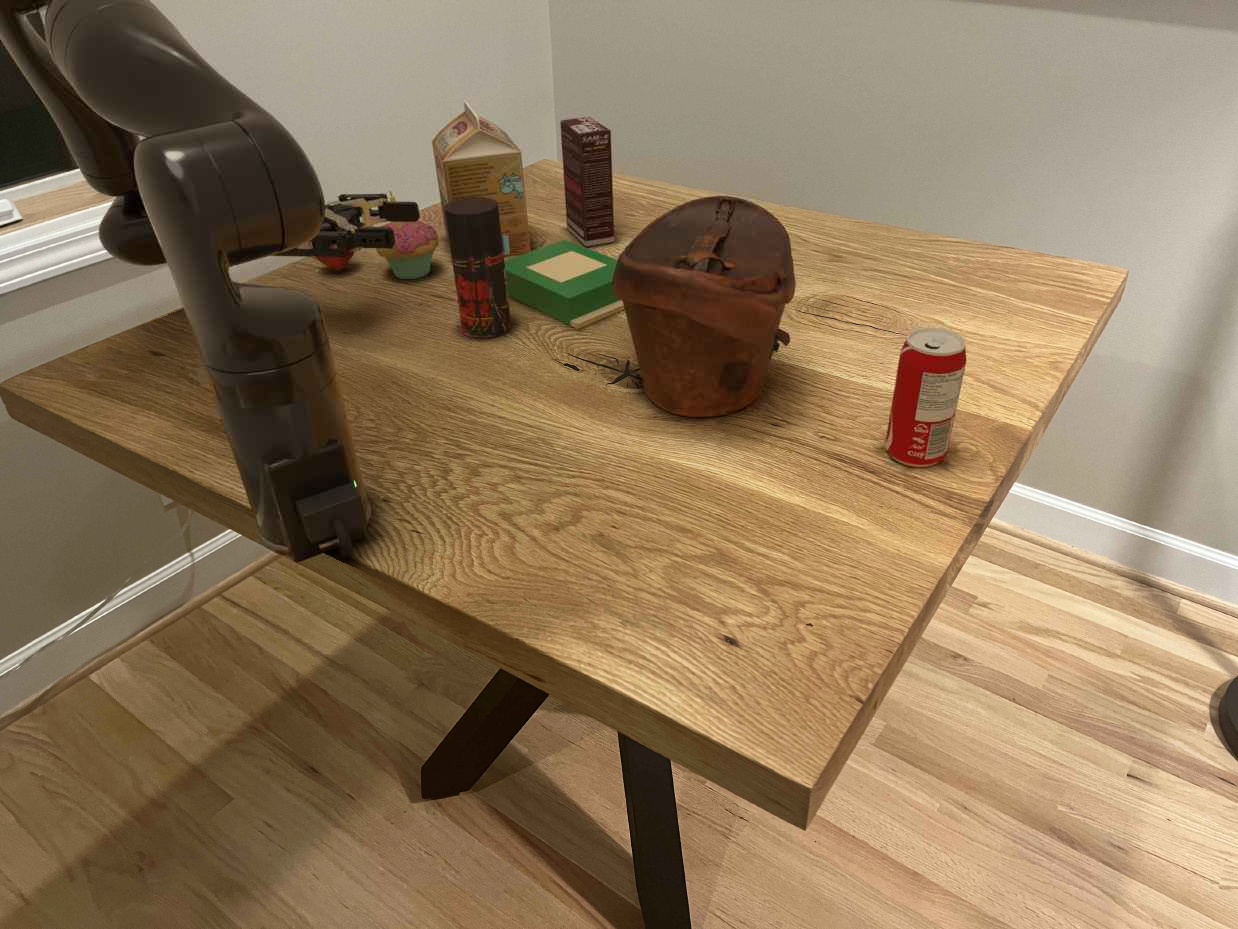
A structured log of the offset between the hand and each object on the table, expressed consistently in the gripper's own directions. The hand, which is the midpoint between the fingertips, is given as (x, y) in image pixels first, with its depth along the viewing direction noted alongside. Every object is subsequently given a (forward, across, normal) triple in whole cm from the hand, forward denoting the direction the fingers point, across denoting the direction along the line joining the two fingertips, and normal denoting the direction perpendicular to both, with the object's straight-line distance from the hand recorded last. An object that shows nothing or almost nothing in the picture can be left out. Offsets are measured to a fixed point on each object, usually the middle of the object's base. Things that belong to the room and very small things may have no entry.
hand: (406, 224), depth 103 cm
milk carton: (+1, +27, +13) cm, 30 cm away
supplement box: (+16, +32, +13) cm, 37 cm away
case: (+34, -13, +13) cm, 39 cm away
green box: (+16, +11, +13) cm, 23 cm away
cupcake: (-7, +16, +13) cm, 22 cm away
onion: (-18, +17, +13) cm, 27 cm away
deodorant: (+8, 0, +13) cm, 15 cm away
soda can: (+55, -23, +13) cm, 61 cm away
